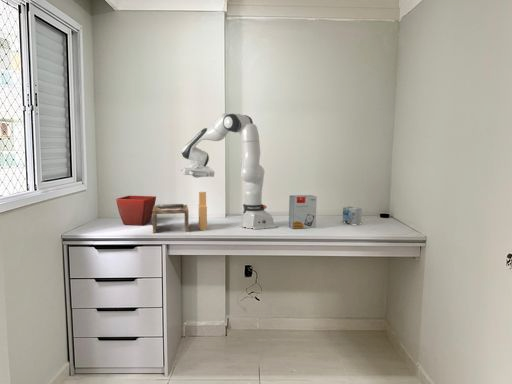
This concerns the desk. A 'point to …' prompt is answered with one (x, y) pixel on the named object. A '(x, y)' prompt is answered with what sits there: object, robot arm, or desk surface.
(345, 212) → the light bulb box
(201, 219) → the tall tan upright block
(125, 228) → the desk surface
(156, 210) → the tan rectangular frame
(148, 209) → the plant pot
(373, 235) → the desk surface
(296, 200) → the hard drive box
